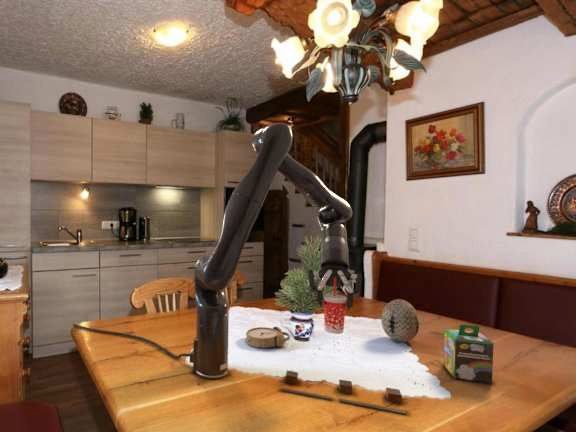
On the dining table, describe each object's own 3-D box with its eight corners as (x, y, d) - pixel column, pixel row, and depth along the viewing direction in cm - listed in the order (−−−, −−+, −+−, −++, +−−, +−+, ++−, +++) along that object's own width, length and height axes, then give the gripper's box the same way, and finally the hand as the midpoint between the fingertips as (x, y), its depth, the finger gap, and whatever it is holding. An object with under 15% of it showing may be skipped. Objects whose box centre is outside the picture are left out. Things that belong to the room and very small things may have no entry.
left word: (281, 391, 91) (281, 383, 91) (284, 377, 98) (284, 370, 98) (331, 400, 87) (332, 392, 87) (330, 385, 94) (331, 377, 94)
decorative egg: (424, 342, 125) (426, 301, 125) (408, 350, 119) (410, 305, 118) (390, 332, 135) (392, 293, 135) (374, 338, 128) (375, 298, 128)
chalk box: (478, 370, 105) (480, 320, 104) (493, 384, 96) (495, 331, 96) (442, 365, 108) (443, 317, 107) (453, 378, 99) (455, 326, 99)
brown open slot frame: (340, 402, 86) (340, 394, 86) (338, 386, 94) (339, 379, 94) (406, 414, 81) (406, 406, 81) (399, 397, 89) (399, 389, 89)
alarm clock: (244, 327, 129) (285, 322, 128) (246, 341, 129) (287, 335, 128) (246, 339, 118) (291, 333, 117) (248, 353, 118) (293, 348, 117)
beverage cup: (344, 336, 88) (345, 281, 88) (319, 331, 92) (320, 278, 91) (348, 329, 94) (349, 277, 93) (324, 325, 97) (325, 274, 96)
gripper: (307, 245, 101) (305, 296, 91) (363, 248, 96) (367, 302, 86) (308, 261, 107) (305, 311, 96) (360, 264, 102) (364, 317, 91)
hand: (334, 306), depth 91 cm, fingers closed on beverage cup, 6 cm apart
